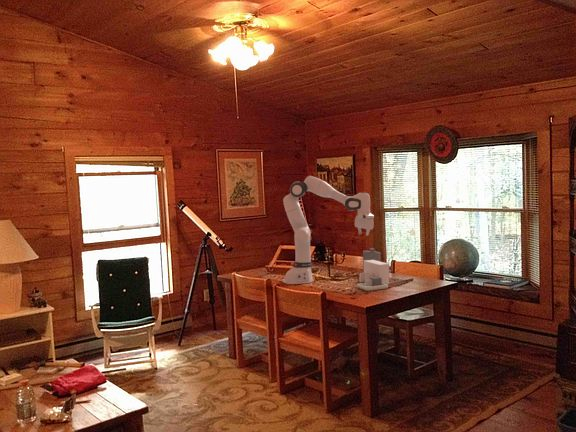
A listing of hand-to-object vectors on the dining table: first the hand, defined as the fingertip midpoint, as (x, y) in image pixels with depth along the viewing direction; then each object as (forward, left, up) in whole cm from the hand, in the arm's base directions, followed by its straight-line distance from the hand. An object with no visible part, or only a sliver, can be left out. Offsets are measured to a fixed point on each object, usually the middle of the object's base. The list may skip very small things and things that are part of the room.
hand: (363, 234), depth 386 cm
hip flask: (+18, +17, -34) cm, 42 cm away
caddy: (-7, -23, -33) cm, 40 cm away
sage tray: (-8, -23, -33) cm, 41 cm away
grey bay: (+2, -7, -33) cm, 34 cm away
